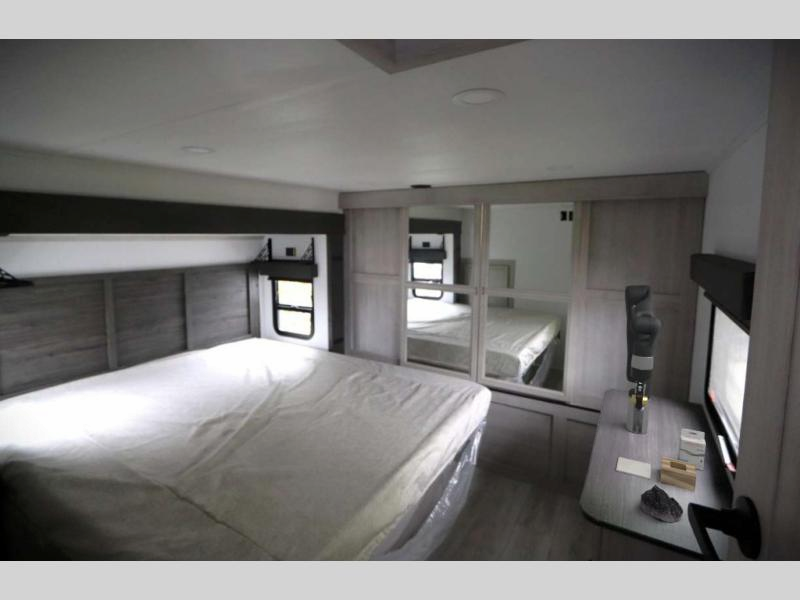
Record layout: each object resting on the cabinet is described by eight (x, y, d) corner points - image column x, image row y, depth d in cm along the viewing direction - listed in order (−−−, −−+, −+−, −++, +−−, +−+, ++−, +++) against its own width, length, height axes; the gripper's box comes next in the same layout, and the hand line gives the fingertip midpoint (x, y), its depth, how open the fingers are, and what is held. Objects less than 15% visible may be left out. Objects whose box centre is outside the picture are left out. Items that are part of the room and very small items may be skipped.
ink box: (678, 465, 175) (681, 432, 173) (677, 460, 179) (680, 427, 177) (703, 470, 170) (706, 437, 168) (702, 465, 174) (705, 432, 172)
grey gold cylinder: (629, 427, 174) (632, 393, 172) (645, 430, 171) (647, 395, 169) (628, 432, 169) (631, 397, 167) (644, 435, 166) (647, 400, 164)
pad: (618, 458, 181) (618, 456, 181) (650, 465, 174) (651, 464, 174) (616, 470, 171) (616, 469, 171) (650, 479, 164) (650, 478, 164)
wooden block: (660, 469, 171) (661, 456, 170) (693, 477, 165) (694, 463, 165) (660, 482, 162) (661, 468, 161) (694, 491, 156) (696, 476, 155)
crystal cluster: (674, 504, 150) (673, 477, 150) (691, 526, 137) (690, 496, 137) (634, 502, 153) (632, 475, 153) (646, 523, 140) (645, 494, 140)
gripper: (632, 360, 174) (629, 398, 177) (630, 369, 162) (627, 410, 165) (653, 362, 170) (650, 401, 173) (652, 372, 158) (649, 414, 161)
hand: (638, 405), depth 169 cm, fingers closed on grey gold cylinder, 5 cm apart
